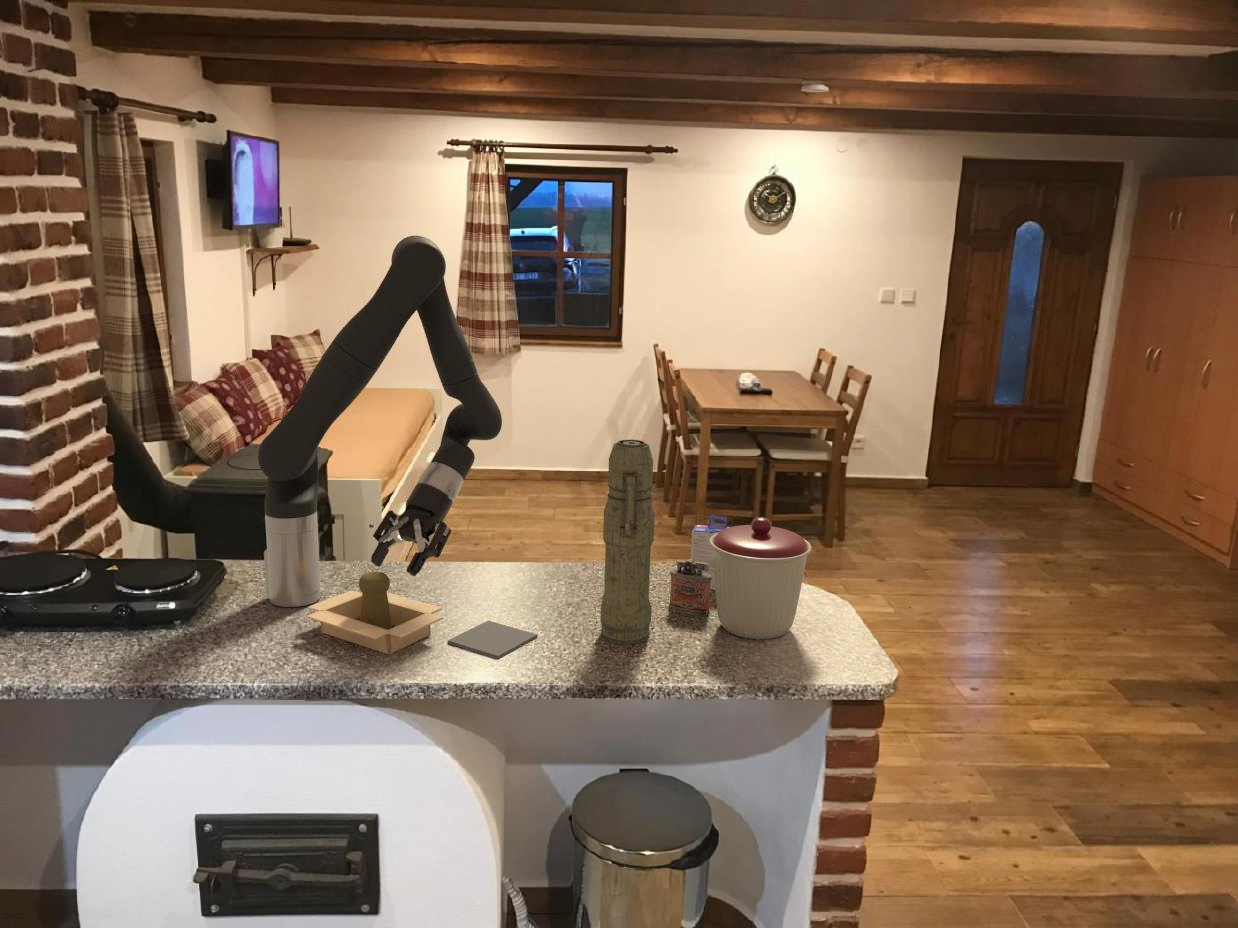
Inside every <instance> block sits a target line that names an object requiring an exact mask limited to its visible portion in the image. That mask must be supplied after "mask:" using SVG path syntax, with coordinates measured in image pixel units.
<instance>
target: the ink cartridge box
mask: <svg viewBox="0 0 1238 928" xmlns="http://www.w3.org/2000/svg"><path fill="white" fill-rule="evenodd" d="M714 520H720V521H723V523H720V522H712V521H714ZM727 520H728V516H723V515H713V514H711V515H709V519H708V525H702V524H695V525H694V527H693V529H692V531H691V541H690V542H691V543H690V559H692V560H694V562H703V563H708V564H709V569H708V571H704V570H702V572H703V573H707V574H710V575H712V580H711V582H710V590H712V591H715V576H714V559H713V548H712V547H711V545H710V542H709V541H710V538H711V537H712V536H713V535H714V534H716V533H718V532H720V531H722V530H724V529H726V528H730V527H731V526H727V524H728V521H727ZM696 571H698V570H697V569H696Z"/></svg>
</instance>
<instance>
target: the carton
mask: <svg viewBox="0 0 1238 928" xmlns="http://www.w3.org/2000/svg"><path fill="white" fill-rule="evenodd" d="M387 596H388V602H389V608H390V614H391V620H392V626H393V628H392V629H389V630H387V629H383V628H380V627H377V626H374V625H371V624H367V623H364V622H361V621H360V620H358V619H360V612H361V603H362V592H359V591H356V590H353V589H352V590H348V591H346V592H343V593H340V594H339V595H335V596H333V597H330V598H327V599H325V600H322V601H319V602H317V603H315V604H314V603H313V604H312V605H309V606H308V608H307V609H308V610H311V611H315V612H313V613H311V614H308V615H306V617H305V618H307V619H310V620H312V621H316V622H320V633H322V634H326V635H328V636H331V637H335V638H338V639H340V640H344V641H347V642H349V643H353V644H356V645H359V646H363V647H366V648H368V649H371V650H374V651H377V650H378V652H380V653H383V654H386V655H390V654H393V653H395V652H397V651H399V650H401V649H403V648H405V647H407V646H410V645H411V644H414V643H415V642H417V641H419V640H422V639H425V638H426V637H428V636H431V635H432V633H431V625H433V624H435V623H437V622H439V621H442V620H443V619H444V616H441V615H438V614H436V613H438V612H439V611H442V609H443V608H442V607H440V606H436V605H432V604H430V603H426V602H422V601H419V600H415V599H411V598H408V597H404V596H401V595H397V594H395V593H391V592H388V591H387Z"/></svg>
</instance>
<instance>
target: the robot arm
mask: <svg viewBox="0 0 1238 928" xmlns="http://www.w3.org/2000/svg"><path fill="white" fill-rule="evenodd" d="M446 265H447V263H446V259H445V256H444V254H443V253H442V251H441V249H440V248H439V246H438V245H437V244H436V243H435V242H434V241H433V240H431V239H430V238H427V237H425V236H423V235H410V236H409V235H408V236H406V237H404V238H402V239H401V240H400V241H399V242H398V243H397V244H396V245H395V247H394V249H393V251H392V254H391V264H390V266H389V268H388V271H387V272H386V274H385V276H384V277H383V280H382V281H381V282H380V284H379V286H378V288H377V289H376V291H375V292H374V294H373V295H372V297H371V298H370V300H369V301H368V302H367V303H366V304H364V305H363V307H362V308H361V309H360V310H359V311H358V312H356V314H354V315H353V316H352V317H351V319H350V320H349V321H348V322H347V323H346V324H345V325H344V326H343V327H342V328H341V329H340V331H338V333H337V334H336V336H335V337H334V338H333V340H332V342H331V343H330V344H329V345H328V347H327V349H326V350H325V351H324V353H323V354H322V356H321V358H320V359H319V361H318V362H317V364H316V366H315V367H314V369H313V371H312V372H311V374H310V376H309V377H308V379H307V381H306V383H304V384H305V385H304V387H303V388H302V390H301V392H300V394H299V395H298V397H297V399H296V401H295V402H294V403H293V405H292V406H291V408H290V409H289V410H288V411H287V412H286V414H285V415H284V417H283V418H282V419H281V420H280V421H279V422H278V424H277V425H276V426H275V427H274V428H273V429H272V430H271V432H270V433H269V434H267V435H266V436H265V437H264V439H263V440H262V441H261V443H260V445H259V446H258V453H257V462H258V466H259V468H260V470H261V472H262V473H263V474H264V475H265V476H266V477H267V487H266V493H265V496H264V514H265V515H264V521H265V533H266V535H265V536H266V549H265V550H264V552H263V558H264V559H263V560H264V562H263V563H264V575H265V576H264V579H265V594H266V595H265V596H266V599H268V600H269V603H271V604H272V605H273V606H277V607H282V608H283V607H284V608H295V607H296V608H298V607H304V606H308V605H309V606H310V605H311V604H312V605H313V604H314V603H316V602H318V601H319V600H320V599H321V573H320V572H321V571H320V570H321V569H320V549H319V530H318V529H319V525H318V494H319V486H320V485H319V456H318V455H319V454H318V446H319V445H320V444H321V441H322V440H323V438H324V436H325V434H326V433H327V432H328V430H329V429H330V427H332V425H333V424H334V423H335V421H336V420H338V418H339V417H340V416H341V415H342V414H343V413H344V412H345V411H346V410H347V409H348V408H349V406H350V405H352V403H354V401H355V400H356V399H357V398H358V396H359V395H360V394H361V393H362V392H363V391H364V389H365V388H366V386H367V385H368V384H369V383H370V381H371V380H372V378H373V377H374V376H375V374H376V373H377V372H378V370H379V368H380V367H381V365H382V364H383V362H384V361H385V359H386V358H387V356H388V354H389V353H390V351H391V349H392V348H393V347H394V345H395V343H396V341H397V339H398V338H399V336H400V335H401V332H402V331H403V329H404V328H405V326H406V324H407V323H408V322H409V320H410V319H411V317H412V316H413V315H414V314H415V313H416V312H417V314H418V317H419V319H420V322H421V325H422V327H423V331H424V334H425V337H426V342H427V344H428V347H429V348H428V349H429V351H430V355H431V357H432V360H433V363H434V367H435V370H436V371H437V375H438V379H439V381H440V383H441V385H442V387H443V390H444V392H445V394H446V395H447V396H448V397H450V398H453V399H455V400H458V401H459V402H460V404H458V405H456V406H455V407H453V409H452V410H451V411H450V413H449V414H448V416H447V418H446V422H445V425H444V430H443V432H442V436H441V441H440V443H439V444H440V445H439V447H438V449H437V451H436V453H435V454H434V455H433V457H432V459H431V460H430V463H429V464H428V465H427V467H426V468H425V469H424V471H423V472H422V474H421V475H420V477H419V479H418V481H417V482H416V485H415V486H414V487H413V490H412V491H411V493H410V495H409V496H408V498H407V500H406V502H405V509H404V511H403V512H402V513H401V514H397V513H396V512H394V511H393V510H392V509H391V510H388V512H387V513H386V514H385V516H384V517H383V519H382V520H381V522H380V524H379V525H378V527H377V529H375V531H374V533H373V535H372V536H373V538H374V539H375V540H376V541H377V542H378V543H377V546H376V548H375V549H374V551H373V552H372V554H371V556H370V561H371V564H373V565H374V566H375V567H378V568H379V567H381V566H382V564H383V562H384V561H385V559H386V557H387V555H388V554H389V552H390V549H391V548H392V547H394V546H396V545H397V544H402V543H403V542H407V543H408V542H412V543H414V544H417V551H418V552H417V551H416V552H414V554H413V556H412V559H411V560H410V562H409V564H408V566H407V567H406V572H407V574H409V575H410V576H413V577H416V576H417V574H419V573H420V572H421V570H422V569H423V567H424V565H425V563H426V562H427V560H428V559H430V558H433V557H434V558H436V559H437V558H439V557H440V556H441V554H442V552H443V549H444V548H445V546H446V544H447V542H448V539H449V537H450V535H451V533H452V529H451V528H450V526H448V525H447V523H445V522H444V521H445V519H446V517H447V515H448V513H449V511H450V509H451V507H452V506H453V505H454V503H455V500H456V499H457V497H458V495H459V493H460V491H461V488H462V486H463V483H464V482H465V480H466V478H467V476H468V474H469V473H470V470H471V468H472V466H473V464H474V462H475V460H476V459H475V457H476V456H475V453H474V451H473V450H472V449H471V448H470V447H469V443H470V442H471V441H491V440H493V439H495V438H496V437H497V436H498V435H499V434H500V432H501V429H502V426H503V419H502V418H503V417H502V413H501V409H500V408H499V405H498V403H497V402H496V400H495V399H494V397H493V396H492V394H491V393H490V391H489V390H488V388H487V386H486V385H485V384H484V383H483V381H482V380H481V378H480V375H479V372H478V369H477V367H476V364H475V361H474V358H473V356H472V353H471V350H470V348H469V345H468V342H467V340H466V338H465V336H464V334H463V332H462V329H461V327H460V325H459V324H460V323H459V322H458V319H457V318H456V315H455V313H454V310H453V307H452V304H451V301H450V298H449V293H448V291H447V286H446V281H445V274H446V268H447V266H446ZM397 532H398V534H397ZM431 536H432V538H431Z"/></svg>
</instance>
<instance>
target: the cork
mask: <svg viewBox="0 0 1238 928" xmlns="http://www.w3.org/2000/svg"><path fill="white" fill-rule="evenodd" d="M390 582H391V581H390V578H389V576H388V575H387V573H384V572H380V571H369V572H366V573H363V574H362V575H361V577H360V578H359V581H358V588H359V590H360V593H362V603H361V612H360V618H359V621H361V622H364V623H367V624H371V625H374V626H377V627H380V628H383V629H387V630H389V629H392V628H394V625H392V620H391V614H390V608H389V602H388V596H387V592H388V591H389V589H390V585H391V584H390Z"/></svg>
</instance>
